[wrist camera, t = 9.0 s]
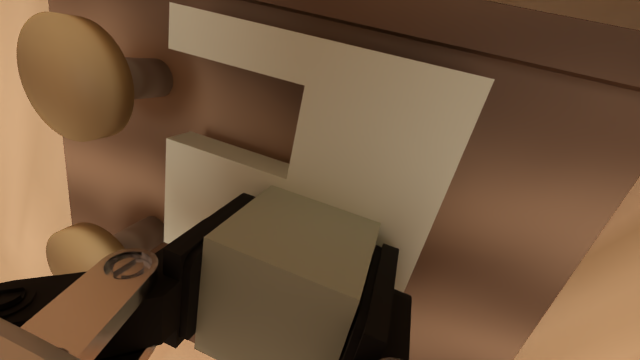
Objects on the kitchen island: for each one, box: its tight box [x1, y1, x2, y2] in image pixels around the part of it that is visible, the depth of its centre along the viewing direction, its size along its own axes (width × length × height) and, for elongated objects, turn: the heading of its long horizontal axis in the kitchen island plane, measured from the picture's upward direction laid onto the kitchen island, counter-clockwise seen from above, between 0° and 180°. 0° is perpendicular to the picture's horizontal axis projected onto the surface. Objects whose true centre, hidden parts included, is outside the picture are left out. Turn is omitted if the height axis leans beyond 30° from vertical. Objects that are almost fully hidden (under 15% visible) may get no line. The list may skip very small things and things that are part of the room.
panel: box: [164, 2, 495, 360], centre depth 11 cm, size 14×10×5 cm
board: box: [17, 0, 640, 360], centre depth 13 cm, size 18×24×5 cm
